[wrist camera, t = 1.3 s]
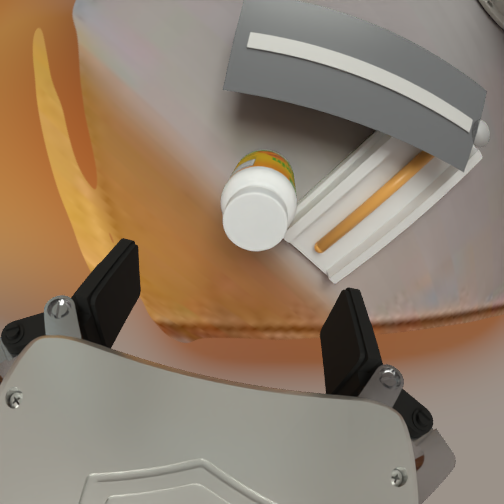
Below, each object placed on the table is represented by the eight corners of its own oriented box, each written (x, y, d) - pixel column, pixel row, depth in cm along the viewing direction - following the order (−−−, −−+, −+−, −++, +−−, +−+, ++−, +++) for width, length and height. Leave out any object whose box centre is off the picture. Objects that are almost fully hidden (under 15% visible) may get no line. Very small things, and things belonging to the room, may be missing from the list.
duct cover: (483, 98, 14) (499, 101, 12) (461, 171, 19) (476, 180, 16) (250, 2, 14) (245, -9, 11) (229, 90, 18) (222, 89, 16)
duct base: (431, 81, 17) (444, 81, 15) (474, 152, 20) (487, 158, 18) (273, 224, 27) (272, 236, 25) (331, 275, 30) (334, 289, 28)
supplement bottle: (304, 184, 24) (316, 235, 16) (258, 213, 27) (246, 273, 18) (271, 137, 22) (265, 163, 14) (223, 170, 24) (193, 213, 16)
